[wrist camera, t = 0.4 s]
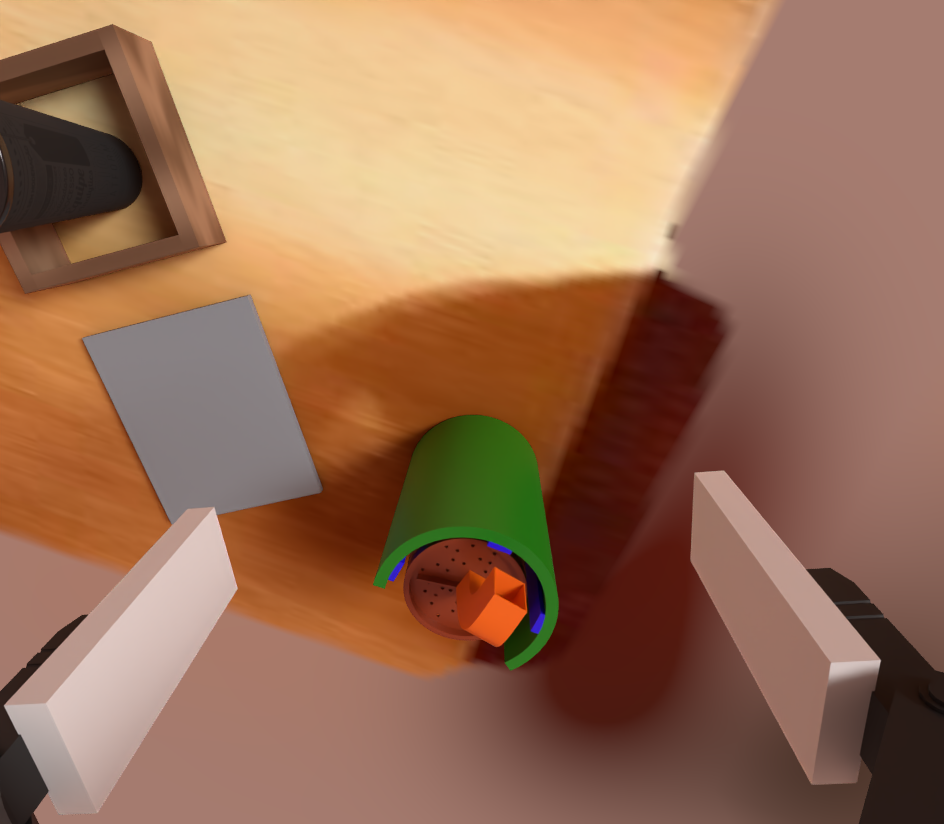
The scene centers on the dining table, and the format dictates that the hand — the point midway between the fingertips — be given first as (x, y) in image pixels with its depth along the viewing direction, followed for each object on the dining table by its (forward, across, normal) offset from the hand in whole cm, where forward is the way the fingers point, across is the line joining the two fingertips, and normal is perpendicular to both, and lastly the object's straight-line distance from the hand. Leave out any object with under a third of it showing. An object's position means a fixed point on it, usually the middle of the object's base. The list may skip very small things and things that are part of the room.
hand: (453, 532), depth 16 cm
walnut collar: (+28, -24, +12) cm, 39 cm away
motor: (+28, -1, -12) cm, 30 cm away
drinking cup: (+28, -24, +12) cm, 39 cm away
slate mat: (+28, -21, -6) cm, 35 cm away
